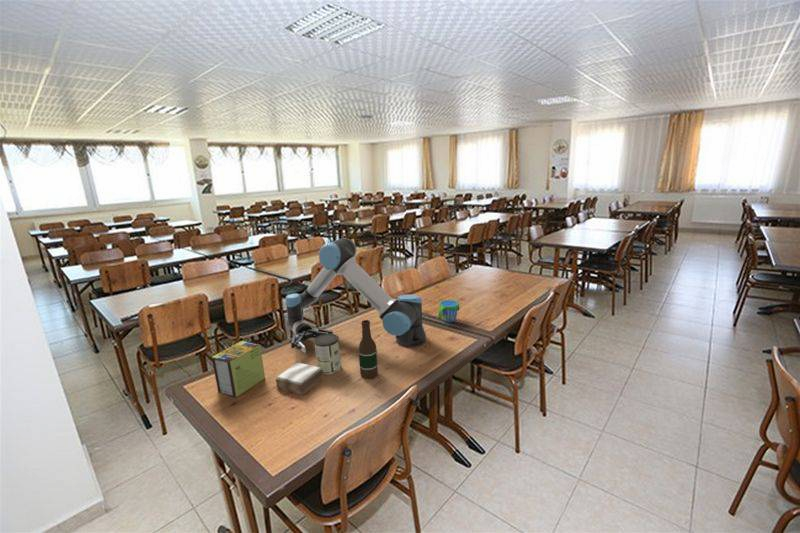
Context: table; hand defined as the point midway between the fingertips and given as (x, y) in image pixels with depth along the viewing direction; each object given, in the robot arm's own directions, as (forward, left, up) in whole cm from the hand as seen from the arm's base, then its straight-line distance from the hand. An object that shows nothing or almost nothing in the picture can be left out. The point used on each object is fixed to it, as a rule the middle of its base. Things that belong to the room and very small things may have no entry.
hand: (319, 345), depth 167 cm
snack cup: (-40, -64, -8) cm, 75 cm away
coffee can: (-8, +4, -8) cm, 12 cm away
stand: (-4, +18, -7) cm, 20 cm away
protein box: (+18, +28, -8) cm, 35 cm away
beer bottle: (-27, +2, -8) cm, 28 cm away
